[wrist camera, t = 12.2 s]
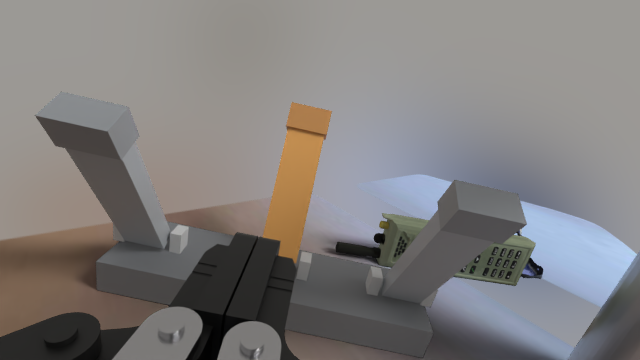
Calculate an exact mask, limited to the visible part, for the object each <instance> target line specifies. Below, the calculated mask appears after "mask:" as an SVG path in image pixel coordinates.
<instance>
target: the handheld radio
mask: <svg viewBox="0 0 640 360" xmlns="http://www.w3.org/2000/svg"><path fill="white" fill-rule="evenodd" d="M382 215H383V217H384V218H386V219H387V222H385V221H381V222H380V225H379V227H380V228H383V229H384V232H383V234H380V233H377V234H375V236H374V241H375V242H376V243H380V245H379V248H375V247H373V248H369V247H366V246H360V245H354V244H348V243H343V242H337V244H336V252H340V253H347V254H353V255H360V256H372V257H373V258H377V261H378V264H379V265H381V266H388V267H393V266H394V264H395V263H396V262H397V261H398V259H399V258H400V257H401V256H402V254H403V253H404V252H405V251H406V249H407V248H408V247H409V246H410V244H411V243H412V242H413V241H414V239H415V238H416V237H417V236H418V234H419V233H420V232H421V231H422V229H423V228H424V227H425V226H426V224H427V223H428V222H429V221H430V220H424V219H418V218H412V217H406V216H401V215H395V214H384V213H382ZM535 244H536V243H534V242H533V241H531V240H530V239H528V238H526V237H523V236H517V235H513V236H511V237H510V238H509V239H508V240H506V241H505V242H504V243H503V244H500V243H496V242H494V243H493V244H491V245H490V246H489V247H488V248H487V249H485V250H484V251H483V252H482V253H481V254H479V255H478V256H477V257H476V258H474V259H473V260H472V261H471V262H470V263H468V264H467V265H466V266H465V267H464V268H462V269H461V270H460V271H459V272H458V273H456V274H455V275H454V276H453V277H458V278H465V279H472V280H479V281H485V282H493V283H499V284H506V285H512V286H516V285H517V282H518V280H519V278H520V276H521V274H522V272H523V270H524V268H525V266H526V264H527V262H528V260H529V258H530V256H531V253H532V251H533V249H534V247H535Z"/></svg>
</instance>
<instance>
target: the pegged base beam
mask: <svg viewBox="0 0 640 360" xmlns="http://www.w3.org/2000/svg"><path fill="white" fill-rule="evenodd" d="M167 223H168V226H169V228H170V231H171V233H170V238H169V240H168V242H167V244H166V246H165V248H164V249H161V248H157V247H152V246H147V245H143V244H138V243H133V242H128V241H125V240H124V239H123V237H122V236H121V234H120V233H119V231H118V229H117V228H116V226H115V225H114V223H113V240H117V241H119V242H118V243H117V244H116V245H115V246H113V247H112V248H111V249H110V250H109V251H108V252H106V253H105V254H104V255H103V256H102V257H100V258H99V259H98V260H97V261H96V280H97V290H99V291H104V292H109V293H114V294H118V295H123V296H128V297H133V298H137V299H142V300H147V301H152V302H157V303H161V304H166V305H170V304H171V302H172V301H173V299H174V298H175V296H176V295H177V293H178V292H179V290H180V289H181V287H182V286H183V284H184V283H185V281H186V280H187V278H188V277H189V275H190V274H191V273H192V271H193V269H194V268H195V266H196V265H197V264H198V262H199V260H200V259H201V257H202V256H203V254H204V253H205V251H207V250H208V249H210V248H212V247H213V246H215V245H216V244H221V245H226V246H229V244H230V243H231V241H232V239H233V237H234V236H232V235H228V234H223V233H218V232H214V231H209V230H205V229H200V228H195V227H191V226H186V225H181V224H177V223H172V222H167ZM294 264H295V267H296V269H297V270H296V275H295V280H294V285H293V290H292V295H291V300H290V305H289V311H288V316H287V321H286V326H285V329H286V330H291V331H296V332H300V333H305V334H310V335H315V336H320V337H324V338H329V339H334V340H339V341H344V342H348V343H353V344H358V345H363V346H368V347H372V348H377V349H382V350H387V351H392V352H396V353H401V354H406V355H411V356H416V357H420V358H423V355H424V353H425V351H426V349H427V346H428V344H429V342H430V340H431V338H432V335H433V333H434V332H433V329H432V326H431V323H430V320H429V318H428V315H427V312H426V309H425V306H427V307H431V305H432V303H433V301H434V298H435V296H436V294H437V291H438V290H436V291H434V292H433V293H432V294H431V295H430V296H428V297H427V298H426V299H425V300H424V301H422V302H421V303H415V302H410V301H405V300H401V299H396V298H391V297H387V296H382V285H383V278H384V277H385V276H386V274H387V273H388V272H389V271H390V269H386V268H381V267H376V266H372V265H367V264H362V263H358V262H353V261H348V260H344V259H339V258H335V257H330V256H325V255H321V254H316V253H311V252H307V251H302V250H299V253H298V257H297V262H296V263H294Z"/></svg>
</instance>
